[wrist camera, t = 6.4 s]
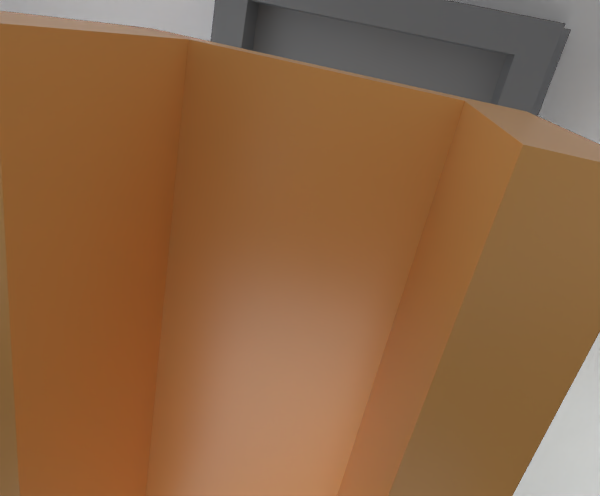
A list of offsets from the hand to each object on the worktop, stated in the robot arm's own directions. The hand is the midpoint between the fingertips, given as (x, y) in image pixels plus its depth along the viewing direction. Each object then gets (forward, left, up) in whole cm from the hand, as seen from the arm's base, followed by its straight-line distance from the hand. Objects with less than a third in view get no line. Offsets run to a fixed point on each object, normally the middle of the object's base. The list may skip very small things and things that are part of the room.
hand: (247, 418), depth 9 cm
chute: (0, 0, -1) cm, 1 cm away
